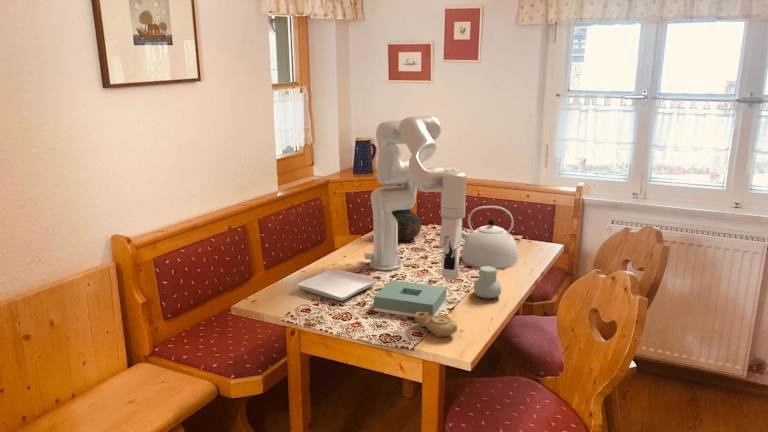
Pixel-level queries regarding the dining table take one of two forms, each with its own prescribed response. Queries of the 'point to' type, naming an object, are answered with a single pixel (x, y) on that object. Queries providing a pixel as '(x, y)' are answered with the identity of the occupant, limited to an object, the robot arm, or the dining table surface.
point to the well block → (409, 298)
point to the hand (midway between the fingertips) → (450, 266)
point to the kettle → (490, 245)
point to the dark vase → (407, 224)
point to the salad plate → (337, 284)
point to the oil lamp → (437, 323)
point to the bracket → (454, 273)
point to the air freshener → (487, 283)
